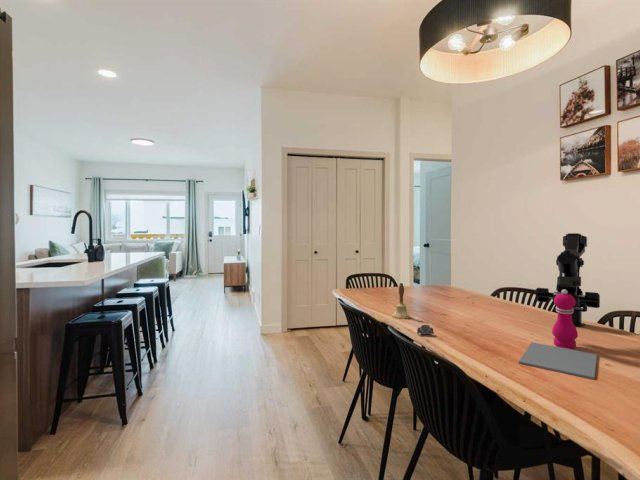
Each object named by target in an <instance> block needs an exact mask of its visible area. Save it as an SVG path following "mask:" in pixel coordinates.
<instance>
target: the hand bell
mask: <svg viewBox="0 0 640 480" xmlns="http://www.w3.org/2000/svg"><path fill="white" fill-rule="evenodd" d="M404 294H405V286H404V283H403V282H400V283H399V286H398V295H399V303H398V304H396V307H395V311H394V313H392V315H393V316H394V317H393V316H392V317H393V318H395V317H396V318H395V319H400V318H406V319H409V317H410V318H411V315H410V314H409V313H408V310H407V305H406V304H404Z"/></svg>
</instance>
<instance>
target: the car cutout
mask: <svg viewBox="0 0 640 480" xmlns="http://www.w3.org/2000/svg"><path fill="white" fill-rule="evenodd" d="M416 331H417V332H416V334H418V336H433V335H434V333H435V332H434V328H433V327H430V325H429V324H421V325H420V327H417V329H416Z"/></svg>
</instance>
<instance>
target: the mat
mask: <svg viewBox="0 0 640 480" xmlns="http://www.w3.org/2000/svg"><path fill="white" fill-rule="evenodd" d="M597 359H598V353H595V352H589V351H583V350H577V349H567V348H561V347H558V346H556V345H549V344H542V343H537V342H533V341H531V343H530V344H529V346H528V348H526V350H525V352H524V353H523V355H522V357H521V358H520V359H519V361H518V364H521V365H526V366H530V367H535V368H538V369H545V370H548V371H551V372H552V371H553V372H558V373H562V374H566V375H567V374H568V375H571V376H577V377H580V378H581V377H582V378H584V379H590V380H595V379H596V378H595V377H596V368H597Z"/></svg>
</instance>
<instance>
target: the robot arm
mask: <svg viewBox="0 0 640 480" xmlns="http://www.w3.org/2000/svg"><path fill="white" fill-rule="evenodd" d="M562 247H564V250H563V251H561V252H560V254H558V255H557V258H556V260H555V261H556V266H557V267H558V272H559V273H558V274H559V275H558V276H557V279H556V291H555V290H554V291H553V292H550V289H549V288H546V287H537V288H535V291H534V294H535V295H534V296H535V299H536V301H537V302H540V303H548V302H550V299H552V300H554V298H555V296H556V295H558V294H561V291H562V290H563V289H565V290H567V291H568V293H567V294H570V295H572V296H573V297H574V299H575V302H576V303H575V306H574V307H572V308H573V309H574V310H573V311H574V312H573V313H572V322H573V324H574V326H575V327H580V326H581V327H582V326H586V323H583V322H582V321H583V320H582V315H583V314H582V312H583V313H585V312H588V308H592V309H594V308H595V309H599V308H600V306H601V301H600V299H601V298H600V297H601V296H600V295H601V294H600V293H599V292H595V291H585V293H583V290H582V289H581V288H580V287H582V276H580V275H581V273H580V271H581V268H582V267H583V265H585V261H584V259H583V258H582V257H581V256H583V254H584V253H585V251H586V248H587V247H588V237H587V236H585V235H582V233H580V232H579V233H576V232H572V233H566V234H565V235H564V236H563V237H562ZM553 303H554V302H553ZM554 305H555V303H554Z"/></svg>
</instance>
